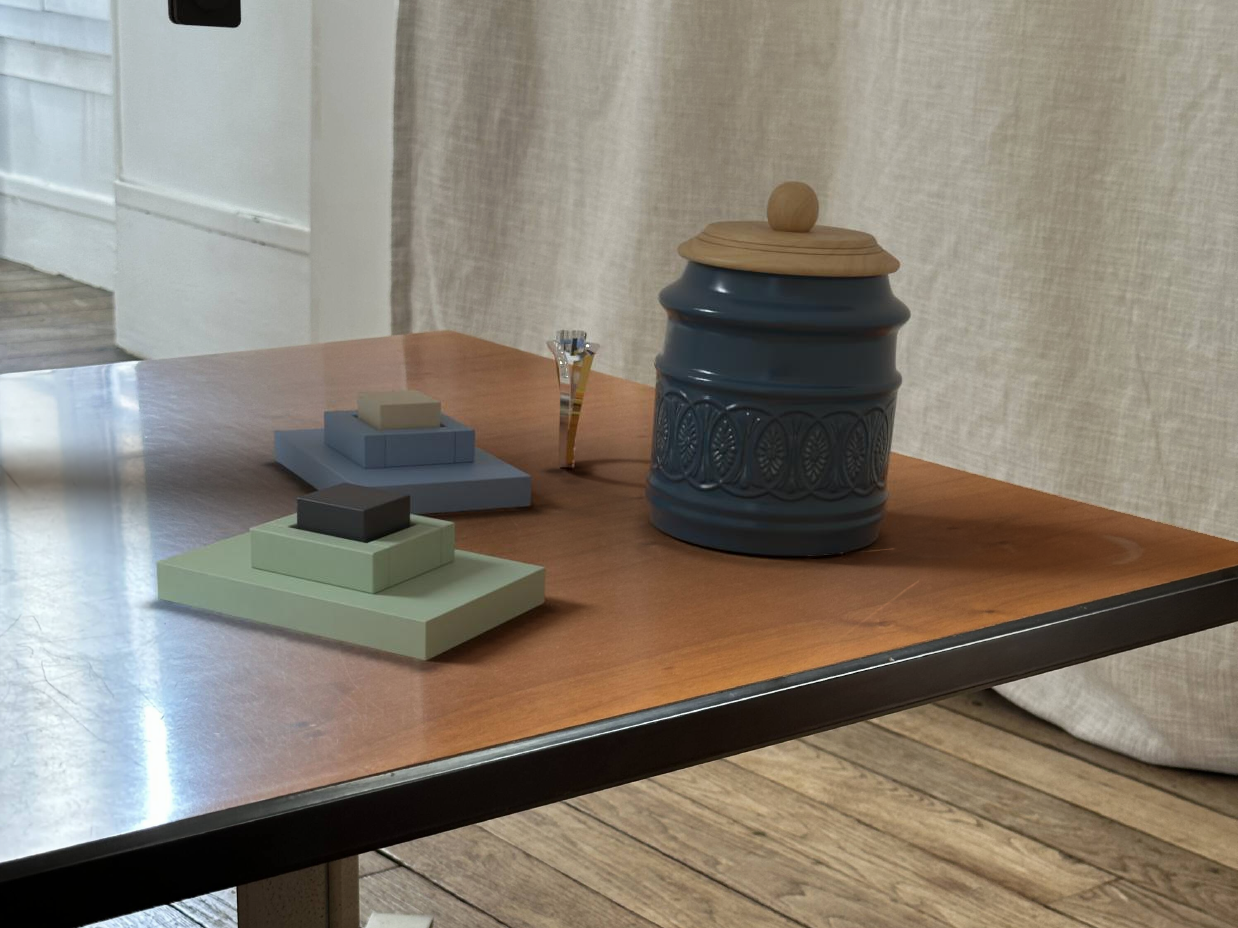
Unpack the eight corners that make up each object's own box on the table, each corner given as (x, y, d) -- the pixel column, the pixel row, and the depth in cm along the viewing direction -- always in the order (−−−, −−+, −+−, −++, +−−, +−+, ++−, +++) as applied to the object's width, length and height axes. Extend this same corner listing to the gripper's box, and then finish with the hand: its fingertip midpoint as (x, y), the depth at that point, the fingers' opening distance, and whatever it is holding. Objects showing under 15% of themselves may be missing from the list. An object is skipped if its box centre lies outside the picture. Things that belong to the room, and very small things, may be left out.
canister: (899, 568, 89) (945, 200, 82) (644, 553, 89) (668, 183, 81) (867, 505, 101) (906, 179, 94) (642, 492, 101) (663, 164, 93)
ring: (545, 453, 108) (551, 320, 105) (597, 456, 108) (604, 323, 105) (534, 479, 102) (540, 338, 99) (589, 482, 102) (597, 342, 99)
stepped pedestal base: (157, 598, 78) (153, 521, 76) (294, 550, 86) (293, 479, 84) (425, 661, 72) (426, 578, 71) (544, 603, 80) (547, 528, 79)
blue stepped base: (274, 459, 103) (272, 399, 101) (432, 450, 107) (433, 392, 106) (358, 519, 92) (357, 452, 90) (531, 506, 96) (533, 442, 95)
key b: (357, 423, 99) (356, 391, 98) (416, 420, 100) (416, 389, 100) (380, 436, 96) (380, 404, 95) (441, 433, 98) (441, 401, 97)
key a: (296, 536, 77) (295, 496, 76) (344, 519, 80) (344, 481, 79) (364, 550, 75) (364, 510, 75) (410, 532, 78) (411, 494, 78)
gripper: (67, -407, 84) (93, 17, 91) (148, -468, 72) (169, 25, 79) (222, -381, 87) (234, 26, 94) (323, -436, 75) (328, 34, 83)
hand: (205, 24), depth 87 cm, fingers closed
